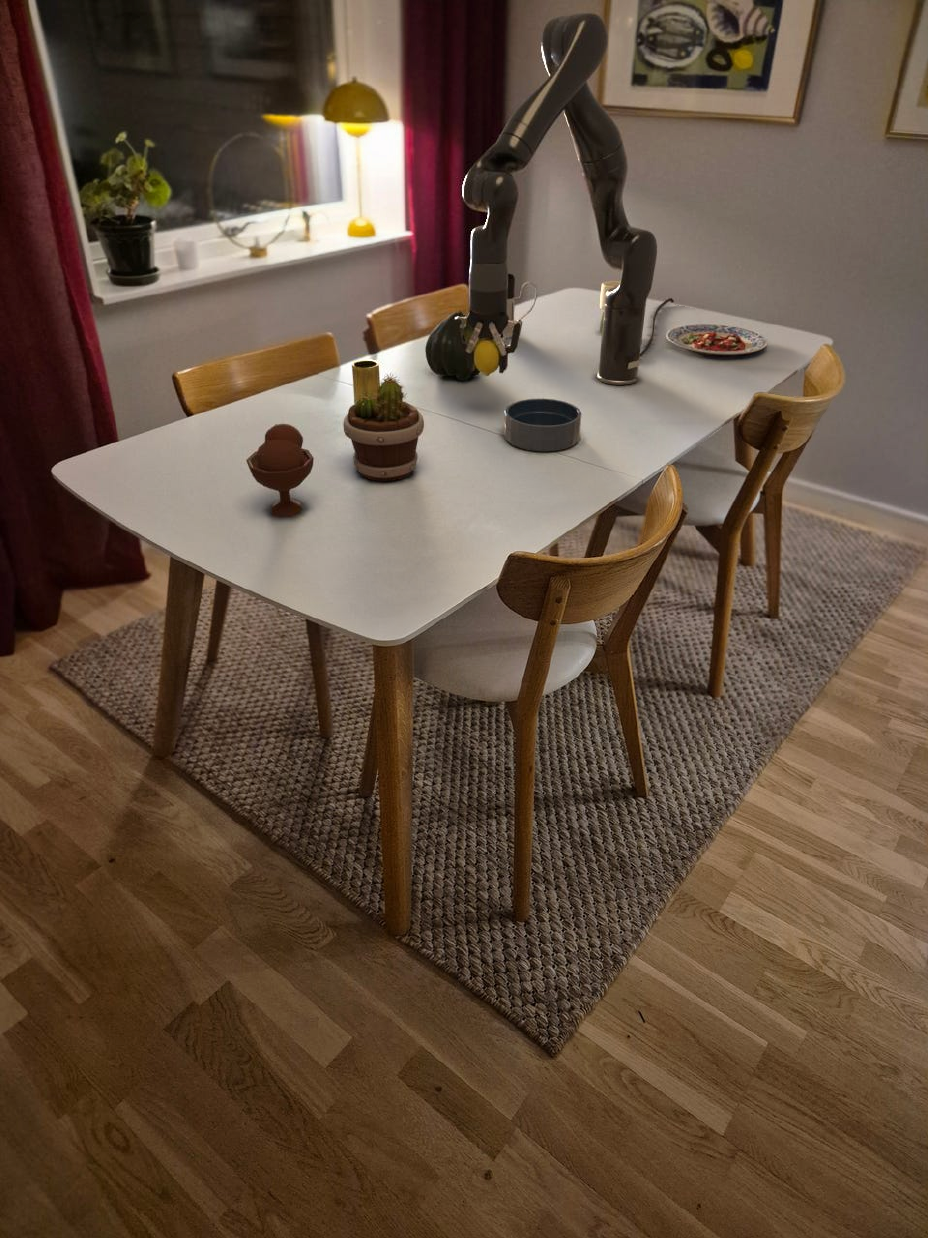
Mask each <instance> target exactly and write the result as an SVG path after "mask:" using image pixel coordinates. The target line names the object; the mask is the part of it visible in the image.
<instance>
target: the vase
mask: <svg viewBox="0 0 928 1238" xmlns="http://www.w3.org/2000/svg"><path fill="white" fill-rule="evenodd" d="M351 374H352V388H353V389H352V390H353V405H354V404H357V402H356V401H357V400H359V399H361V398H364V396H365V393H366V394H367V392H368V394H367V396H368V397H370V396H371V397H370V398H372V397H373V396H374V395H376V396H377V395H378V392H377V391H376V390H375V388H378V387H379V384H380V383H381V379H380V378H381V377H380V366H379V362H378V361H377V360H373V359H361V360H360V359H359V360H356V361H354V362H352V363H351ZM379 381H380V382H379ZM375 385H376V387H375ZM380 385H381V384H380ZM377 386H378V387H377ZM373 389H374V390H373ZM374 391H375V392H377V393H375V392H374ZM363 394H364V395H363ZM369 394H370V395H369ZM359 396H361V397H359ZM358 397H359V399H358ZM365 397H366V396H365ZM373 399H374V398H373ZM354 400H356V401H354Z"/></svg>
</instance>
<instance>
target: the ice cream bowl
mask: <svg viewBox="0 0 928 1238" xmlns="http://www.w3.org/2000/svg"><path fill="white" fill-rule="evenodd" d="M303 443H304V436H303V435H302V434H301V432H300V430H299V429H297V428H296V426H293V425H291V424H289V423H276V424H274V425H273V426H271V427H270V428H269V429H267V430H266V432H265V434H264V442H262V443H261V444H260V445H259V447H258V448H257V451H254V452H253V453H252V454H251V455H250V456H249V457H248V458H247V459H245V461H246V464H247V466H248V469H249V471H250V473H251V475H252V477H253V478H254V480H255V481H256V483H258V484H259V485H261V486H263V487H265V488H267V489H270V490H273V491H276V492H278V493H279V500H278V501H276V502H274V503H273V505H271V507H270V513H271V515H272V516H276V517H279V518H290V517H294V516H297V515H299V514H301V512H302V511H303V509H304V508H303V506H302V504H301V502H299V501H297V500H294V499H291V490H293V489H296V488H297V487H298V486H300V485H301V484H302V483H303V482H304V481H305V479H306V478H307V477H308V476H309V475H310V474H311V472H312V470H313V467H314V461H315V459H314V458H315V457H314V456H313V454H312V453H311V451H310V450H309V449H305V448H302V447H303Z"/></svg>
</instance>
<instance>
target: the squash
mask: <svg viewBox="0 0 928 1238" xmlns="http://www.w3.org/2000/svg"><path fill="white" fill-rule="evenodd" d="M458 316H460V317H467V316H468V315H467V314H465V313H463V312H462V311H461V310H458V311H456V312H453V313H451V314H450V315H448V316H447V317H446V318H444V319H442V320H441V322H439V323H438V324H437V325H436V326H435V327H434V329H432V331H431V333H430V334H429V336H428V338H427V341H426V344H425V348H424V349H425V351H424V352H425V358H426V361H427V364H428V366H429V368H430V369H431V371H432V372H433V373H434V374H435V375H438V376H442V377H446V376H450V377H454V376H455V377H456V378H457V379H458V380H460V381H466V380H468V379H469V378H474V377H477V376H478V375H480V374H481V372H480V371H479V370H478V369H477V368H476V366H475V369H474V371H470V368H468V367H467V352H466V351H465V350H463V349H459V348H458V346H457V341H456V335H455V329H454V323H453V321H454V320H455V318H456V317H458ZM464 334H465V340H466V342H468V343H469V341H470V338H471V336H472V334H473V331H472V329H471V328H470V326H469V324H468V323H466V326H465V327H464ZM480 340H482V339H478V340H477V343H478V342H479V341H480ZM477 343H476V345H477ZM476 345H475V347H476ZM475 347H474V350H475Z"/></svg>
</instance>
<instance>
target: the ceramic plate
mask: <svg viewBox="0 0 928 1238" xmlns="http://www.w3.org/2000/svg"><path fill="white" fill-rule="evenodd" d="M666 339H667V340H668V341H669V342H670V343H672V344H673V345H675V346H677V347H680V348H682V349H685V350H688V351H691V352H694V353H698V354H702V355H707V356H718V357H720V356H721V357H723V356H724V357H725V356H728V357H729V356H737V355H744V354H745V355H746V354H751V353H756V352H759V351H761V350H764V349H765V348H766V347H767V345H768V344H769V343H768V339H767V338H766V337H765V336H764V335H762V334H760V333H758V332H757V331H754V330H750V329H747V328H743V327H739V326H735V325H734V326H733V325H726V324H717V323H716V324H715V323H714V324H713V323H697V324H696V323H695V324H686V325H680V326H677V327H674V328H671V329H669V331H667V333H666Z"/></svg>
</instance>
